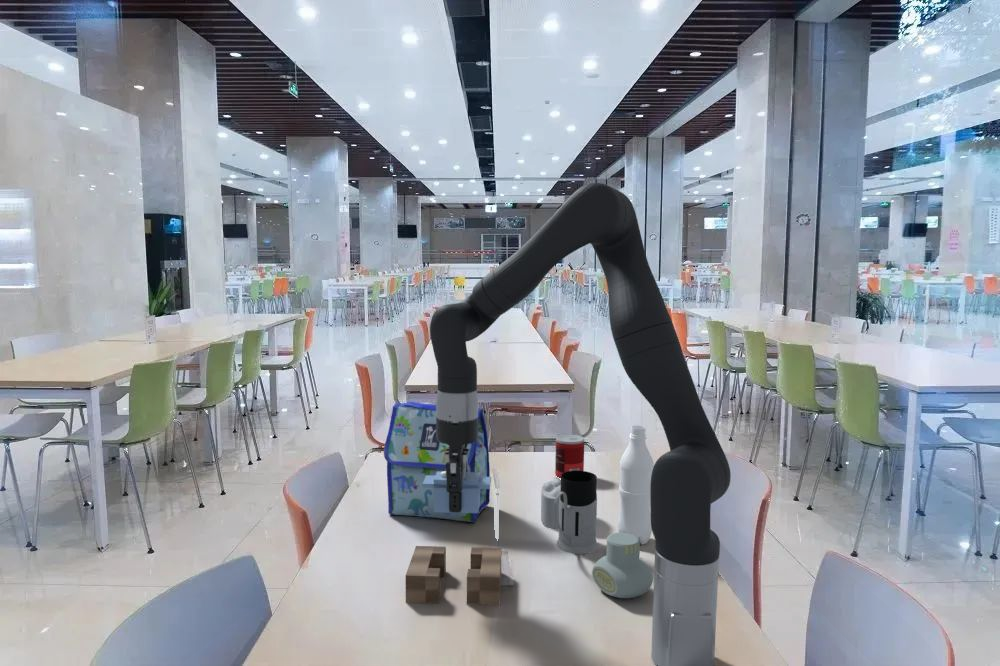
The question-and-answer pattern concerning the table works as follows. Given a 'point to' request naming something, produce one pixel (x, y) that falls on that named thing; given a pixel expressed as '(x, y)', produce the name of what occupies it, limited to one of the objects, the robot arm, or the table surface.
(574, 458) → the canned food
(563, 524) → the glass holder
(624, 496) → the water bottle
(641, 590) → the air freshener
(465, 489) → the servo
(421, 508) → the lunch bag
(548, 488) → the lumpy-topped squat cylinder
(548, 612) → the table surface
